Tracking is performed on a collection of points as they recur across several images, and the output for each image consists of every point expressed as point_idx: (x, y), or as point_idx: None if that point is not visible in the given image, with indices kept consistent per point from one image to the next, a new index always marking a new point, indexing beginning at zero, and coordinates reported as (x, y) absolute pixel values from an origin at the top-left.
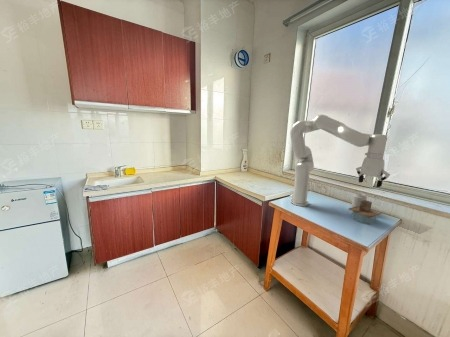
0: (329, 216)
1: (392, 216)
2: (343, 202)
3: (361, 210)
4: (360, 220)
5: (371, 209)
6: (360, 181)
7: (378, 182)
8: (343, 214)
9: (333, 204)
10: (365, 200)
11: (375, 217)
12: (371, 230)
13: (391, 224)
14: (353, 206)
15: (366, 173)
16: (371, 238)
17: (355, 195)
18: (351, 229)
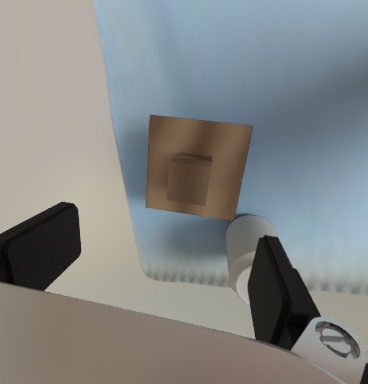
0: (304, 43)
1: (157, 274)
2: (324, 271)
3: (201, 155)
4: None
5: (184, 212)
6: (260, 249)
7: (13, 228)
8: (268, 137)
9: (350, 212)
10: (198, 198)
11: None
12: (136, 86)
13: (130, 206)
14: (263, 223)
15: (136, 347)
16: (104, 9)
17: None
18: (178, 7)
